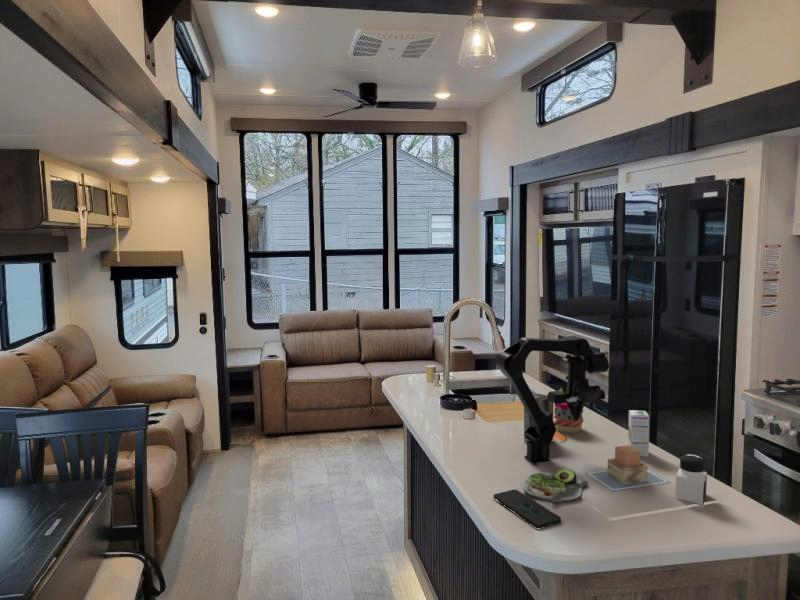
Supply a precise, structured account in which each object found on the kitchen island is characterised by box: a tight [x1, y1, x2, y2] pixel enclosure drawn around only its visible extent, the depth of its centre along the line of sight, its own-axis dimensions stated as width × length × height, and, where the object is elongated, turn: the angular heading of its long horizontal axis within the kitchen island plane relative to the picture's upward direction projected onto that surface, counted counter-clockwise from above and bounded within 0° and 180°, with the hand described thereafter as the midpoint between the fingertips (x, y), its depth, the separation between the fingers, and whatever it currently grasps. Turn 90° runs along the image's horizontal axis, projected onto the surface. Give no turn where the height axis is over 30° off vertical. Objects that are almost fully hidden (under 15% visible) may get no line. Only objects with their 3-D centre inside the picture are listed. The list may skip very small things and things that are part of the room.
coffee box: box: [523, 393, 554, 443], centre depth 214 cm, size 9×6×16 cm
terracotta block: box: [614, 444, 641, 468], centre depth 180 cm, size 5×5×5 cm
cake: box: [553, 388, 584, 434], centre depth 226 cm, size 10×11×15 cm
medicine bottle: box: [674, 454, 708, 506], centre depth 167 cm, size 7×7×12 cm
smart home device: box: [493, 488, 562, 529], centre depth 163 cm, size 8×2×20 cm
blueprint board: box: [584, 469, 672, 493], centre depth 181 cm, size 20×14×1 cm
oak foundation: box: [607, 457, 649, 485], centre depth 181 cm, size 8×8×5 cm
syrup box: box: [627, 409, 650, 458], centre depth 200 cm, size 6×6×14 cm
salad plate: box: [522, 468, 589, 503], centre depth 174 cm, size 19×18×5 cm
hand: (575, 420), depth 200 cm, fingers closed
